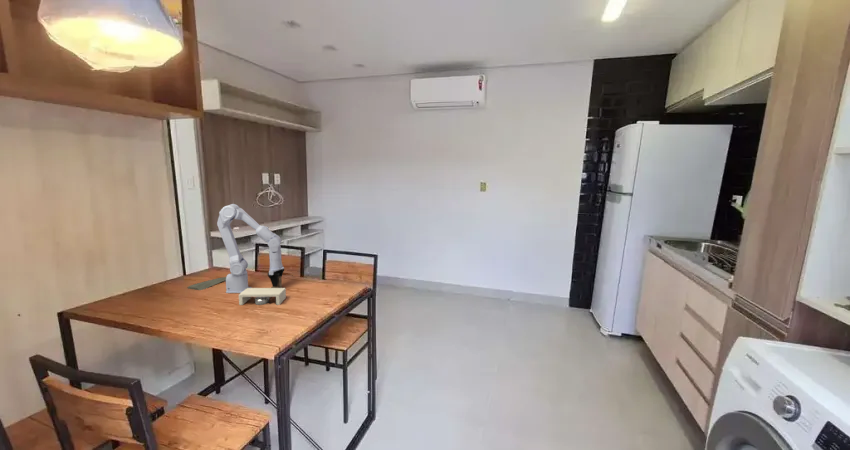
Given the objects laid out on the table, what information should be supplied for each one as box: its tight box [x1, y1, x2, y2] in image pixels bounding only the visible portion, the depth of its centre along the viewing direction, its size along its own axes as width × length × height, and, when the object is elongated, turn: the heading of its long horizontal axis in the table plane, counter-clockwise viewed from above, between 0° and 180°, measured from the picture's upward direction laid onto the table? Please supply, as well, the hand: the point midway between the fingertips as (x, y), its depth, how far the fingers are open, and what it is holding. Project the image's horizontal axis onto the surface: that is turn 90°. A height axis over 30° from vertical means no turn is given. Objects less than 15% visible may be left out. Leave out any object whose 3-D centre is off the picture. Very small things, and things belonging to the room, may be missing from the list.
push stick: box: [269, 276, 283, 300], centre depth 175 cm, size 4×17×6 cm, turn 4°
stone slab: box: [186, 276, 227, 291], centre depth 188 cm, size 22×3×10 cm
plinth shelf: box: [238, 287, 287, 306], centre depth 163 cm, size 18×9×5 cm, turn 94°
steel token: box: [254, 297, 270, 306], centre depth 162 cm, size 6×6×2 cm
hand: (276, 284), depth 181 cm, fingers open, 5 cm apart
